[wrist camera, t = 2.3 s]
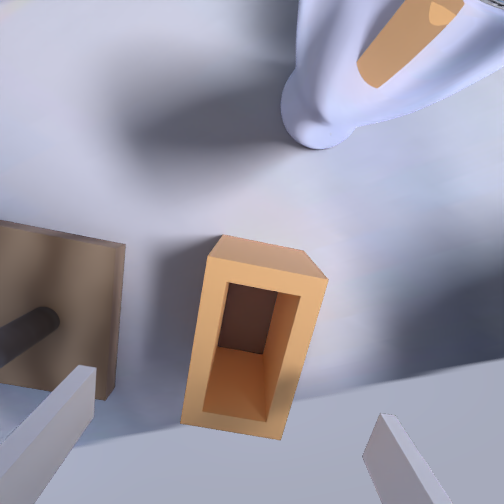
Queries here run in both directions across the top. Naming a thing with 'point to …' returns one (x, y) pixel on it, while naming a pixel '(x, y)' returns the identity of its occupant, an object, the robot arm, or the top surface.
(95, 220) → the top surface
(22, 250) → the keeper board
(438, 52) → the beer glass
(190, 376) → the orange link
